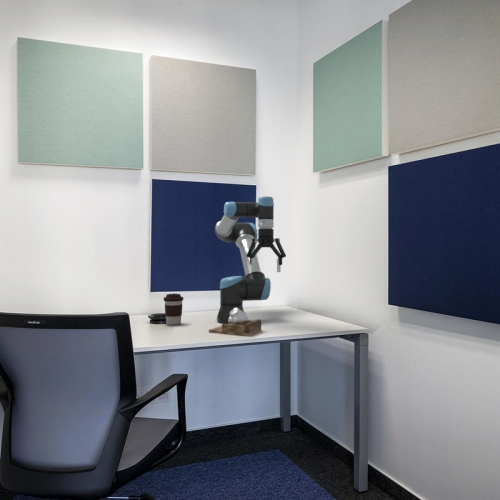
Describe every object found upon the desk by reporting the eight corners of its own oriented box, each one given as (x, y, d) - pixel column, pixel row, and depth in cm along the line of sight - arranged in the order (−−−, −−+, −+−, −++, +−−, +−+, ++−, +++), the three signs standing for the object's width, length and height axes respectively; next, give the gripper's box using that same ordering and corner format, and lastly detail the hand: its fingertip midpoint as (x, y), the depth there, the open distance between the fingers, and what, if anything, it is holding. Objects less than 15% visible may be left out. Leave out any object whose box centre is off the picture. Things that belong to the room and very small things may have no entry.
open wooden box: (208, 332, 216) (208, 321, 216) (223, 327, 228) (223, 316, 228) (247, 336, 207) (247, 324, 207) (261, 330, 219) (261, 319, 219)
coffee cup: (172, 321, 246) (172, 292, 245) (187, 323, 241) (187, 293, 240) (159, 324, 237) (159, 294, 237) (174, 326, 232) (174, 295, 232)
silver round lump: (225, 328, 220) (225, 306, 220) (245, 327, 223) (245, 305, 222) (230, 331, 211) (229, 309, 211) (250, 330, 214) (250, 308, 214)
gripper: (239, 228, 233) (239, 271, 233) (286, 227, 222) (286, 272, 222) (246, 228, 240) (246, 270, 240) (292, 228, 229) (292, 271, 229)
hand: (265, 271), depth 231 cm, fingers open, 13 cm apart
